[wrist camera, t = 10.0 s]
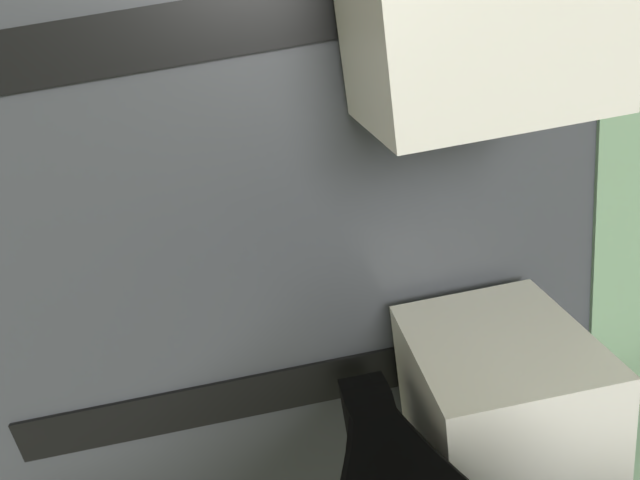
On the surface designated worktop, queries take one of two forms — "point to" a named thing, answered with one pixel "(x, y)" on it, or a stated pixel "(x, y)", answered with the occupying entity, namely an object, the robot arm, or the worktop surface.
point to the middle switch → (515, 387)
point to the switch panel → (252, 238)
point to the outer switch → (485, 67)
